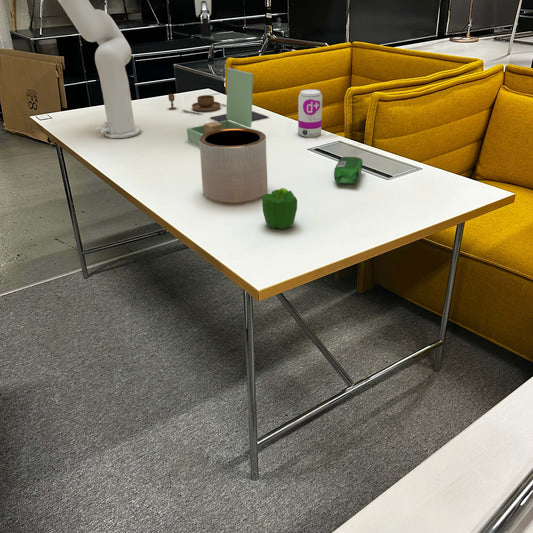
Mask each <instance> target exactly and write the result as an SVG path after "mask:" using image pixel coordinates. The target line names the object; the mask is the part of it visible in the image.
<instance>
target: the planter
mask: <svg viewBox="0 0 533 533" xmlns="http://www.w3.org/2000/svg"><path fill="white" fill-rule="evenodd" d="M248 128H249V127H247V128H224V129H217V130H213V131H210V132H207V133H205V134H203V135H201V136H200V138H199V144H200V145H199V151H200V152H199V156H200V169H201V170H200V172H201V173H200V174H201V185H202V186H201V188H202V192H203V195H204V196H205V197H206V198H208V199H209V200H211V201H214V202H217V203H221V204H230V205H231V204H234V205H235V204H244V203H249V202H252V201H253V202H254V201H256V200H258V199H260V198H262V197H263V195H264V194H267V191H268V164H267V160H268V159H267V158H268V157H267V136H266V134H265V133H264V132H263V131H260V130H257V129H255V128H249V129H248Z"/></svg>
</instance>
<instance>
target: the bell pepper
mask: <svg viewBox="0 0 533 533" xmlns="http://www.w3.org/2000/svg"><path fill="white" fill-rule="evenodd" d="M261 205H262V214H263V217H264V220H265V223H266V225H267V226H268V227H269V228H272V229H276V228H277V229H280V230H281V229H282V230H285V229H289V228H291V227H292V226H293V224H294V223H295V220H296V214H297V210H298V199H297V197H296V196H295V195H294V193H293V192H292V190H288V189H286V188H285V187H281V188H279V189H274V190H272V191H271V193H265V194H264V195H263V196H261Z"/></svg>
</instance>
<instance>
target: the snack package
mask: <svg viewBox="0 0 533 533" xmlns="http://www.w3.org/2000/svg"><path fill="white" fill-rule="evenodd" d="M363 161H364V160H363V159H362V158H361V157H359V156H342V157H340V158H339V160H338V161H337V164H336V165H335V167H334V170H333V177H334V178H333V179H334V181H335V182H336V184H350V185H351V184H356V183H357V182H358V180H359V179H360V176H361V173H362V170H363Z"/></svg>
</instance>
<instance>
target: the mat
mask: <svg viewBox="0 0 533 533" xmlns="http://www.w3.org/2000/svg"><path fill="white" fill-rule="evenodd" d="M268 118H269V116H268V115H264V114H262V113H259V112H255V111H253V110H252V121H251V122H255V121H259V120H264V119H268ZM210 119H211V120H214V121H215V122H221V121H226V120H228V119H226V113H225V114H219V115H215V116H210ZM228 121H229V120H228Z"/></svg>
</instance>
